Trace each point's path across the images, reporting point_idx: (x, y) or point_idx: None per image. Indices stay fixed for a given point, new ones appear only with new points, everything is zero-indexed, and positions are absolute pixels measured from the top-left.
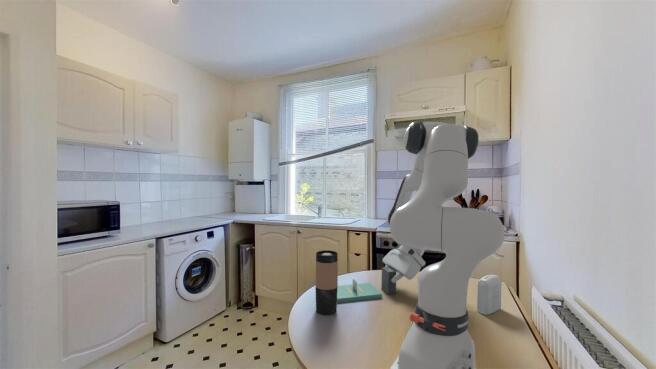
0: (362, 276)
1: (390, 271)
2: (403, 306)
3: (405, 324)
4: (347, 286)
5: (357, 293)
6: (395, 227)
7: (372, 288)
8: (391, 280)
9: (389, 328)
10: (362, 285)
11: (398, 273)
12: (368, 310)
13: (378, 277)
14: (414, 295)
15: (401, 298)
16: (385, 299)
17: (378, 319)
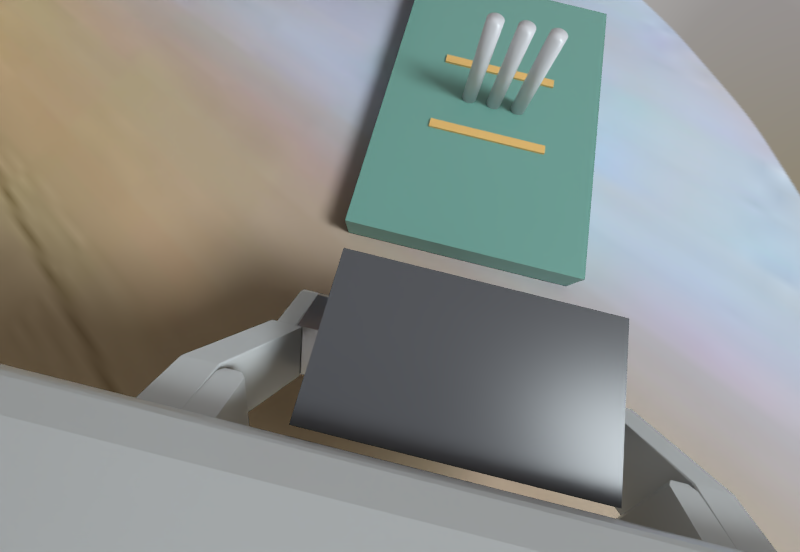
0: (793, 377)
1: (352, 304)
2: (160, 266)
3: (10, 116)
4: (572, 101)
5: (437, 87)
6: None
7: (468, 224)
8: (311, 292)
9: (52, 33)
10: (552, 196)
11: (180, 379)
12: (259, 64)
13: None
14: None
15: None
16: (316, 235)
17: (152, 46)
